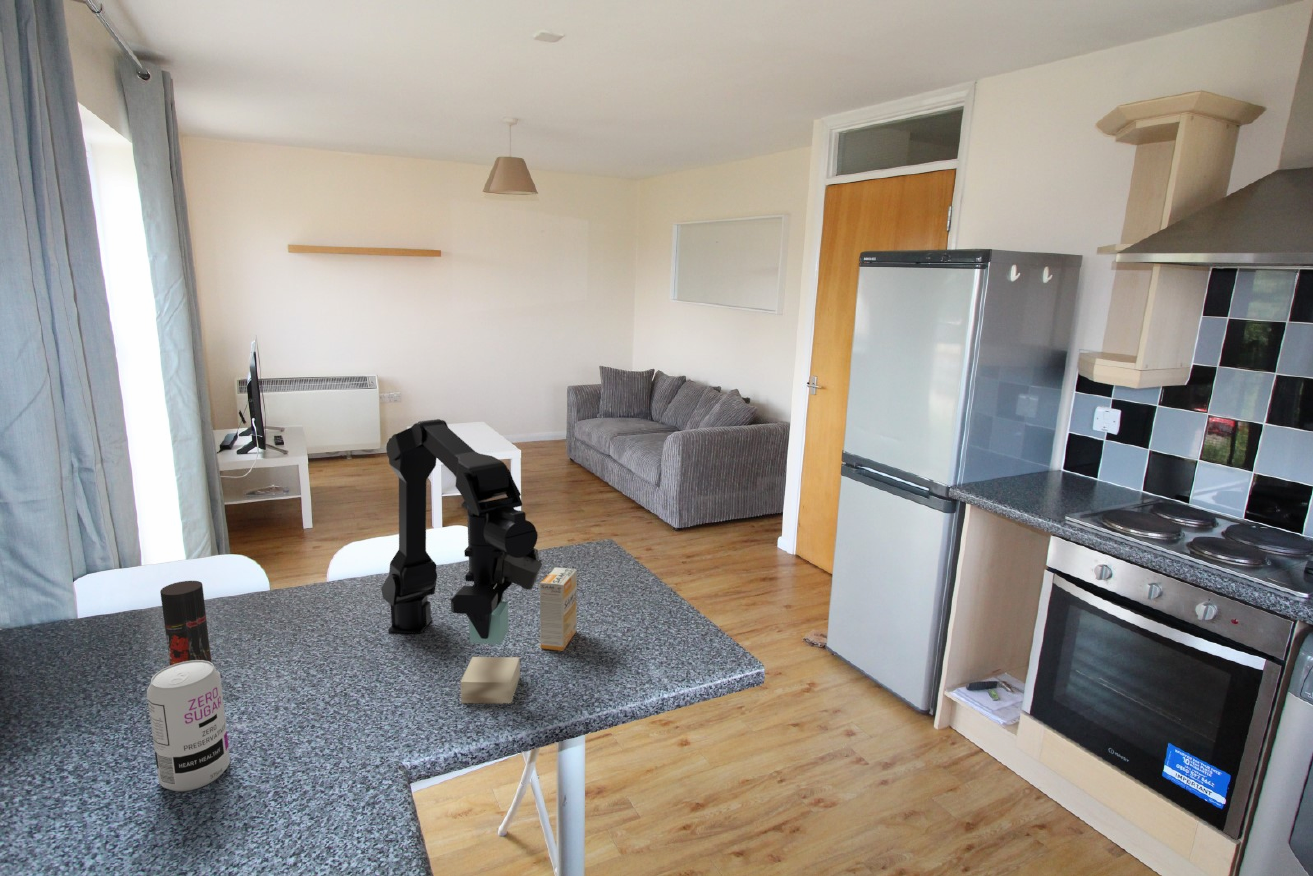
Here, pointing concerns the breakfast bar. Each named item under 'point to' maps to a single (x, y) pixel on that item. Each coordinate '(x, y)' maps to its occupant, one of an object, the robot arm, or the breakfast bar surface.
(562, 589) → the supplement box
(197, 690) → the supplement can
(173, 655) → the deodorant
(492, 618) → the teal cube
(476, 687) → the beech block
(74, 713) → the breakfast bar surface
